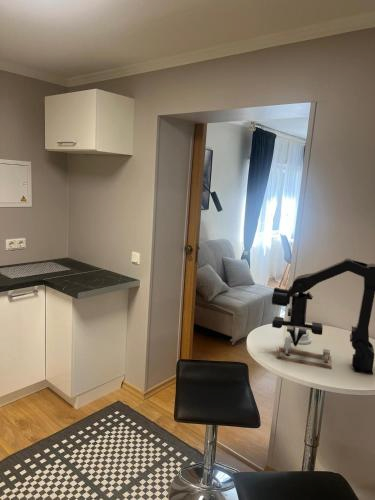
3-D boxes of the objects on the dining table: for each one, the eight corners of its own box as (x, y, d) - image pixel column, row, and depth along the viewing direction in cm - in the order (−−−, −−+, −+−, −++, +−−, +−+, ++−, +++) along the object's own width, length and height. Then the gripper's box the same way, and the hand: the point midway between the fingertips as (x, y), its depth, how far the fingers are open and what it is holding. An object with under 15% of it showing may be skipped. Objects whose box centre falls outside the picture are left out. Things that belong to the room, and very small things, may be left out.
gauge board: (331, 358, 146) (332, 348, 146) (331, 369, 138) (332, 358, 137) (279, 349, 153) (280, 339, 152) (276, 358, 145) (277, 348, 144)
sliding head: (290, 349, 150) (291, 337, 149) (289, 355, 144) (290, 343, 143) (284, 348, 150) (285, 336, 150) (283, 354, 145) (284, 342, 144)
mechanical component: (313, 346, 158) (308, 336, 168) (314, 336, 158) (309, 327, 167) (289, 344, 159) (285, 335, 169) (290, 334, 158) (286, 326, 168)
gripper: (324, 305, 149) (320, 342, 152) (276, 299, 155) (274, 334, 158) (324, 314, 139) (320, 353, 142) (273, 307, 145) (270, 344, 148)
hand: (295, 345), depth 148 cm, fingers closed
